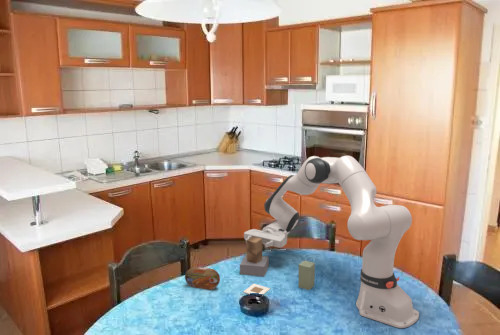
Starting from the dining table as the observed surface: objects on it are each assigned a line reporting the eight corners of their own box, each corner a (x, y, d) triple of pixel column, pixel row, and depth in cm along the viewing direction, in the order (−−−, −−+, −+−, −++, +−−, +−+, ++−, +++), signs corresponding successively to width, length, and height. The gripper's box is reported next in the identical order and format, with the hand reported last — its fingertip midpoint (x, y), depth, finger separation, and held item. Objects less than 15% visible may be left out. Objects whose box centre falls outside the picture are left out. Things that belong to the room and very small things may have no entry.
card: (270, 289, 172) (270, 288, 172) (260, 297, 165) (260, 296, 165) (253, 284, 176) (253, 283, 176) (243, 292, 170) (243, 291, 169)
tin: (185, 286, 175) (184, 267, 174) (188, 283, 178) (187, 264, 177) (218, 291, 171) (217, 272, 169) (221, 287, 174) (220, 268, 172)
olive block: (314, 285, 175) (314, 263, 173) (309, 290, 171) (309, 267, 169) (303, 282, 177) (303, 260, 175) (298, 287, 173) (298, 264, 171)
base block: (268, 266, 194) (268, 256, 193) (264, 277, 183) (264, 266, 182) (246, 264, 196) (245, 254, 195) (240, 274, 186) (239, 264, 185)
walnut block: (262, 259, 189) (261, 238, 187) (256, 263, 185) (255, 242, 183) (253, 256, 192) (252, 236, 190) (247, 260, 188) (246, 240, 186)
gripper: (252, 224, 205) (236, 232, 193) (289, 231, 194) (275, 241, 182) (252, 236, 206) (237, 245, 194) (289, 244, 195) (275, 254, 184)
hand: (255, 243), depth 188 cm, fingers open, 8 cm apart
